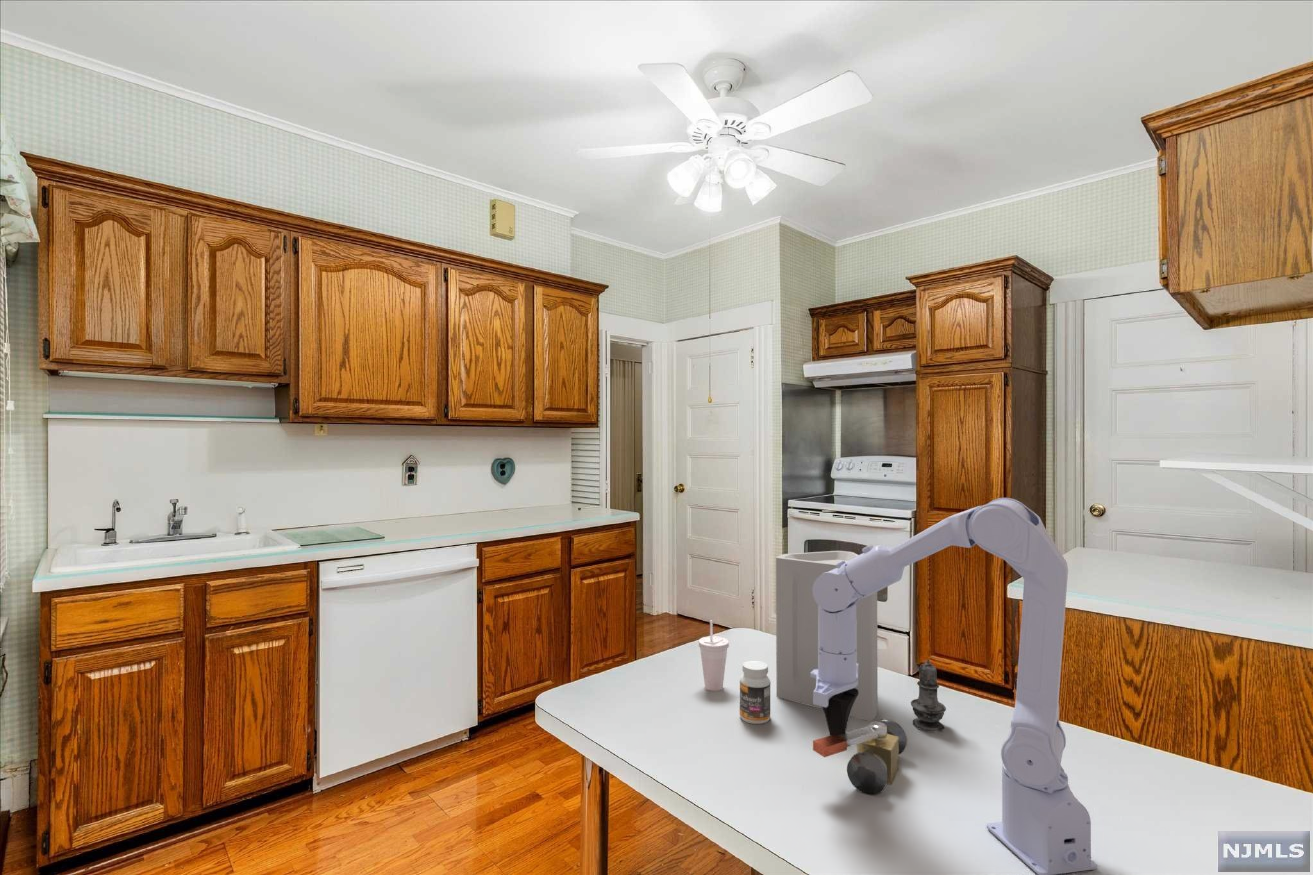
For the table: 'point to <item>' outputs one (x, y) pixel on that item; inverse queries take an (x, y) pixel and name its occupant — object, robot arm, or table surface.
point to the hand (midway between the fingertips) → (836, 736)
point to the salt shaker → (928, 701)
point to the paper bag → (802, 632)
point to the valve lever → (849, 739)
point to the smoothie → (713, 659)
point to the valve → (877, 760)
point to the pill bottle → (755, 693)
